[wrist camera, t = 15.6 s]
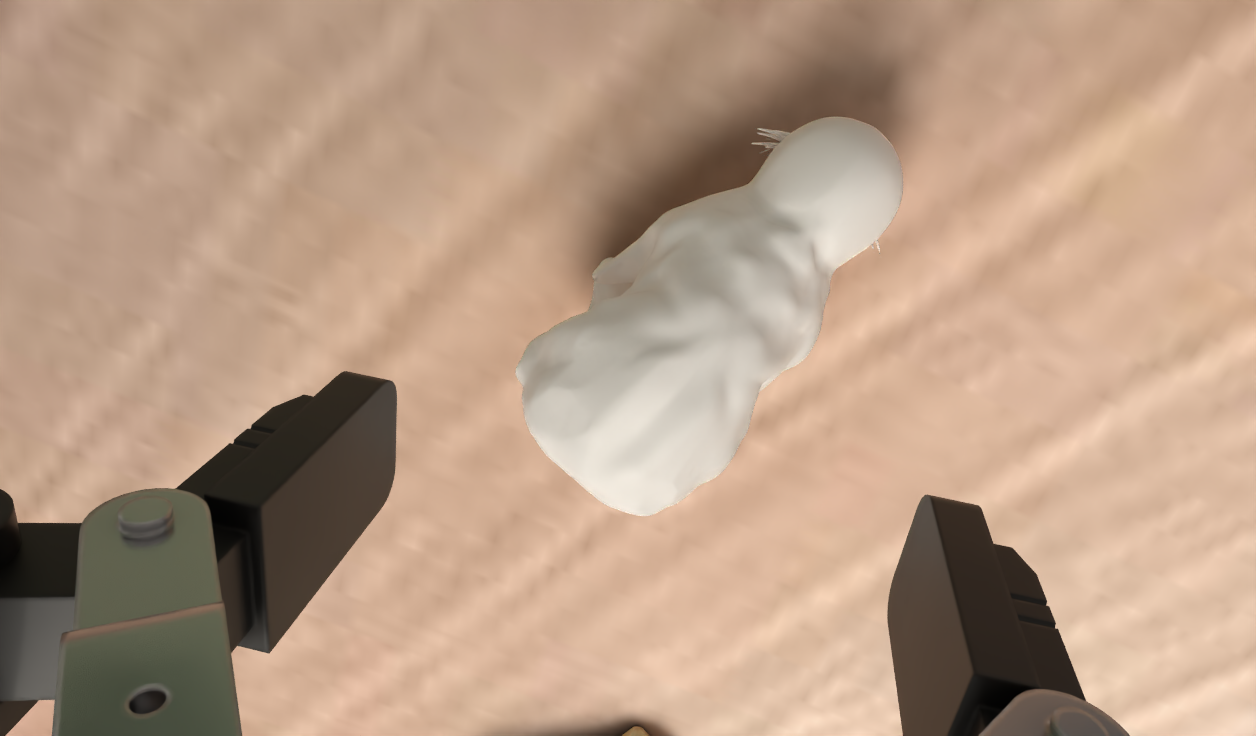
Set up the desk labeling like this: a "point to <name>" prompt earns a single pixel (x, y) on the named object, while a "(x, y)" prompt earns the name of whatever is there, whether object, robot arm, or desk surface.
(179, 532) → the robot arm
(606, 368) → the white lumpy piece
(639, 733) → the pottery shard
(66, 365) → the desk surface
